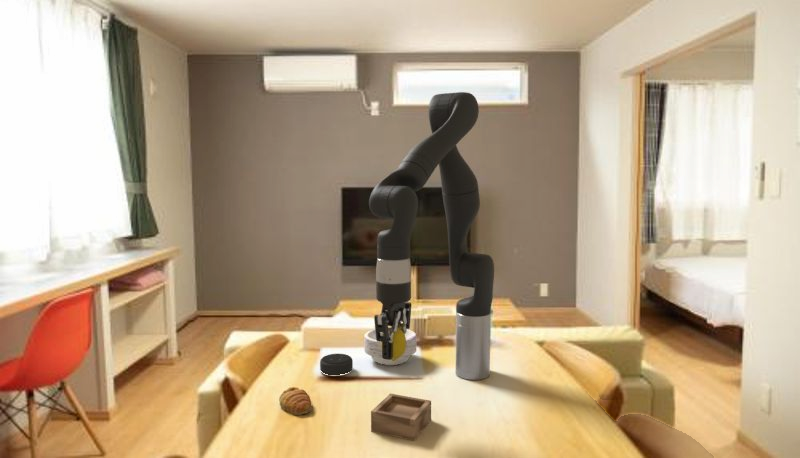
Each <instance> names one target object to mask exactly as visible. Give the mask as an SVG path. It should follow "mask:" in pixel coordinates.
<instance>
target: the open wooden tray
mask: <svg viewBox="0 0 800 458" xmlns="http://www.w3.org/2000/svg"><path fill="white" fill-rule="evenodd" d="M431 421H432V400H429V399H425V398H424V399H423V398H418V397H411V396H406V395H400V394H395V393H389V394H388V395H387V396H386V397H385V398H383V400H381V401H380V403H378V404H377V405H376V406H375V407H374V408H373V409H372V410H371V411H370V428H371V429H370V431H371V432H373V433H377V434H383V435H387V436H391V437H396V438H400V439H406V440H411V441H415V440H417V438H418V437H419V436H420V435H421V434H422V432H423V430H424V429H425V428H426V427H427V426H428V425H429V423H430V422H431Z"/></svg>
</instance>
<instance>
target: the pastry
mask: <svg viewBox="0 0 800 458" xmlns="http://www.w3.org/2000/svg"><path fill="white" fill-rule="evenodd" d="M278 399H279V406H280V407H281V408H282V410H284V411H286V412H288V413H290V414H292V415H297V416H301V415H303V414H307V413H309V412H311V409H312V408H313V405H312V401H311V397H310V395H309V394H308V392H307V391H306V390H304V389H300V388H299V387H295V386H292V387H288V388H287V389H286V390H284V391H283V392H282V393H281V394H280V396H279V398H278Z"/></svg>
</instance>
